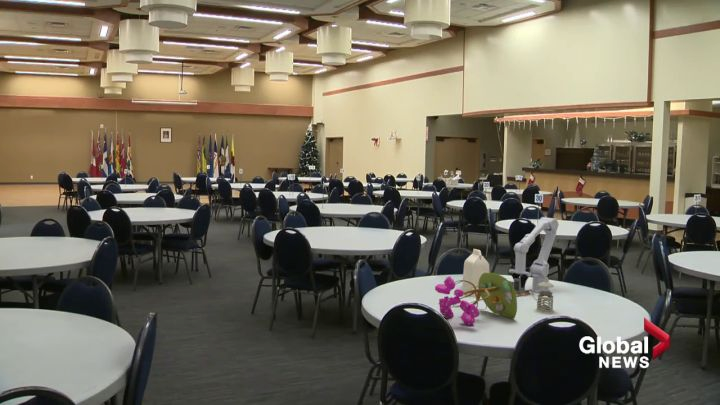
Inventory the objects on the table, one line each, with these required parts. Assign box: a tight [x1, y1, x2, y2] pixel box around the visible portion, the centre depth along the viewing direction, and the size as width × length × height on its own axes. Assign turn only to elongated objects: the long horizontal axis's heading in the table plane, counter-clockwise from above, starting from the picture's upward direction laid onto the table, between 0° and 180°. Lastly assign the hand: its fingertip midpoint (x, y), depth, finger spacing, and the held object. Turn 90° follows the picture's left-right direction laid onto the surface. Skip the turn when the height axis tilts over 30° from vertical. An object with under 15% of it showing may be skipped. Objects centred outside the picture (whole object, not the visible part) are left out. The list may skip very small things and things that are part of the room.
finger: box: [513, 277, 526, 291], centre depth 374 cm, size 4×6×7 cm
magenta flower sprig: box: [434, 272, 518, 326], centre depth 313 cm, size 30×28×35 cm
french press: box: [531, 262, 555, 315], centre depth 333 cm, size 10×12×25 cm
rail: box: [508, 280, 532, 298], centre depth 372 cm, size 18×10×8 cm, turn 127°
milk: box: [461, 248, 490, 298], centre depth 369 cm, size 12×12×26 cm
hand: (519, 286), depth 375 cm, fingers closed on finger, 4 cm apart
